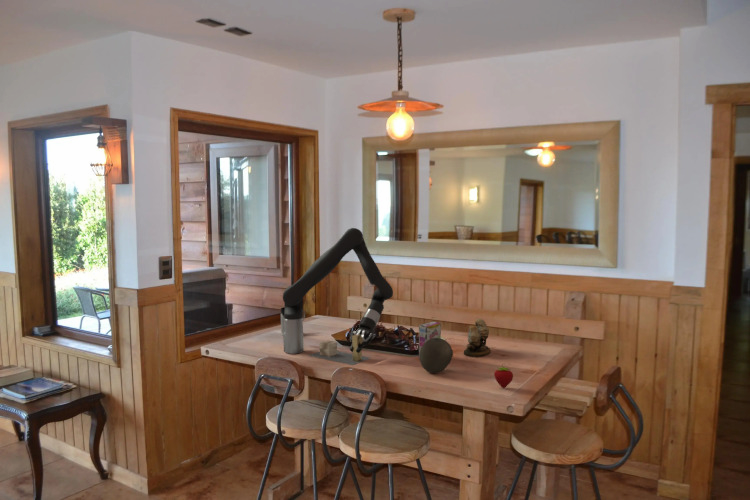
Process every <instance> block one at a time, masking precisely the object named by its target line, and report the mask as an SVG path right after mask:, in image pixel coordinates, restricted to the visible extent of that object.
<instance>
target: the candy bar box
mask: <svg viewBox="0 0 750 500" xmlns="http://www.w3.org/2000/svg"><path fill="white" fill-rule="evenodd" d="M441 327H442V323H441V322H437V321H430V322H426V323H422V324H418V359H419V360H420V356H419V355H420V350H421V348H422V346H423V344H424V343H425V342H426V341H427V340H429V339H431V338H441V339H442V337H441V332H442V328H441Z"/></svg>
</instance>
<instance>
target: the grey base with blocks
mask: <svg viewBox="0 0 750 500" xmlns="http://www.w3.org/2000/svg"><path fill="white" fill-rule="evenodd" d="M360 341H361V335H358V334H356V335H353V336H352V342H351V345H352V346H353V352H352V353H349V352H344V351H338V350H337V354H336V355H333V356H330V357H327V356H323V355H320V351H317V352H315V353H312V354H309V355H308V356H309V357H312V358H318V359H322V360H327V361H332V362H335V363H341V364H344V365H345V364H346V365H350V366H355V365H357V364H360V363H362V362H365V361H368V360H370V359H371V357H369V356H364V355H363V353H362V350H361V351H360V352H359V353H357V352H356V349H357V347H358V345H359V344H360Z"/></svg>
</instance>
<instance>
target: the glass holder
mask: <svg viewBox="0 0 750 500" xmlns="http://www.w3.org/2000/svg"><path fill="white" fill-rule="evenodd" d="M284 309H285V306H284V307H281V308H280V331H281V332H280V336H281V337H283V333H284V332H285V327H284ZM305 318H306V311H305V310H304V309H303V322H304V320H305Z"/></svg>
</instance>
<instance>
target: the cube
mask: <svg viewBox="0 0 750 500" xmlns="http://www.w3.org/2000/svg"><path fill="white" fill-rule="evenodd" d="M337 351H338V342H337V341H334V340H328V339H327V340H325V341H322V342H319V352H320V355H323V356H327V357H330V356H333V355H336V354H337Z"/></svg>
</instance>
